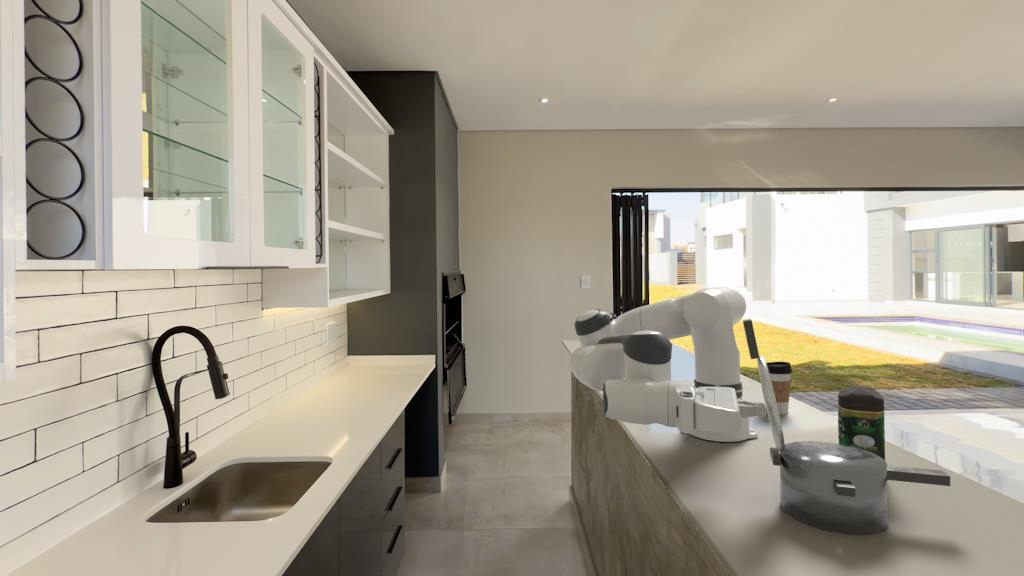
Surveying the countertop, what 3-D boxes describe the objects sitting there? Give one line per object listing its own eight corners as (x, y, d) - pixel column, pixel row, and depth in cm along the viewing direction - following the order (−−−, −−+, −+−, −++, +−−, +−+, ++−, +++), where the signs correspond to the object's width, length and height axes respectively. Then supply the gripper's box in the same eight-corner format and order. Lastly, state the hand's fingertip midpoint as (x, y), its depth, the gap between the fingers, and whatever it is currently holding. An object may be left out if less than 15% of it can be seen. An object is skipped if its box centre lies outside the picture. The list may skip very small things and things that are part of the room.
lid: (777, 434, 100) (765, 435, 101) (752, 315, 101) (740, 317, 102) (789, 464, 85) (775, 465, 85) (760, 323, 86) (746, 325, 86)
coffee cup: (798, 415, 150) (797, 365, 150) (769, 416, 150) (769, 365, 150) (783, 408, 159) (783, 360, 158) (756, 408, 159) (755, 361, 159)
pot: (766, 481, 103) (765, 433, 103) (921, 499, 94) (921, 445, 94) (779, 532, 83) (779, 472, 83) (979, 560, 74) (979, 492, 74)
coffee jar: (838, 466, 111) (837, 382, 110) (883, 473, 106) (882, 385, 106) (839, 482, 102) (837, 391, 102) (887, 490, 98) (886, 395, 98)
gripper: (687, 407, 107) (760, 412, 102) (683, 436, 88) (772, 444, 83) (687, 377, 107) (760, 381, 102) (682, 400, 88) (771, 406, 83)
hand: (765, 410), depth 93 cm, fingers closed
